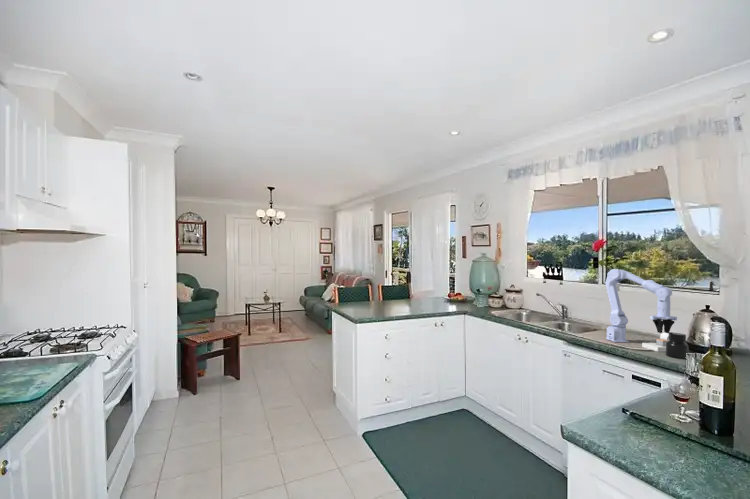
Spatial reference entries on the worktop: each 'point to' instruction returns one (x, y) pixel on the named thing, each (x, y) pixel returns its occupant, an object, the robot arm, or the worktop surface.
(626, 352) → the worktop surface
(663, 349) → the socket plate
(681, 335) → the ink bottle
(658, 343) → the plug
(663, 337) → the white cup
